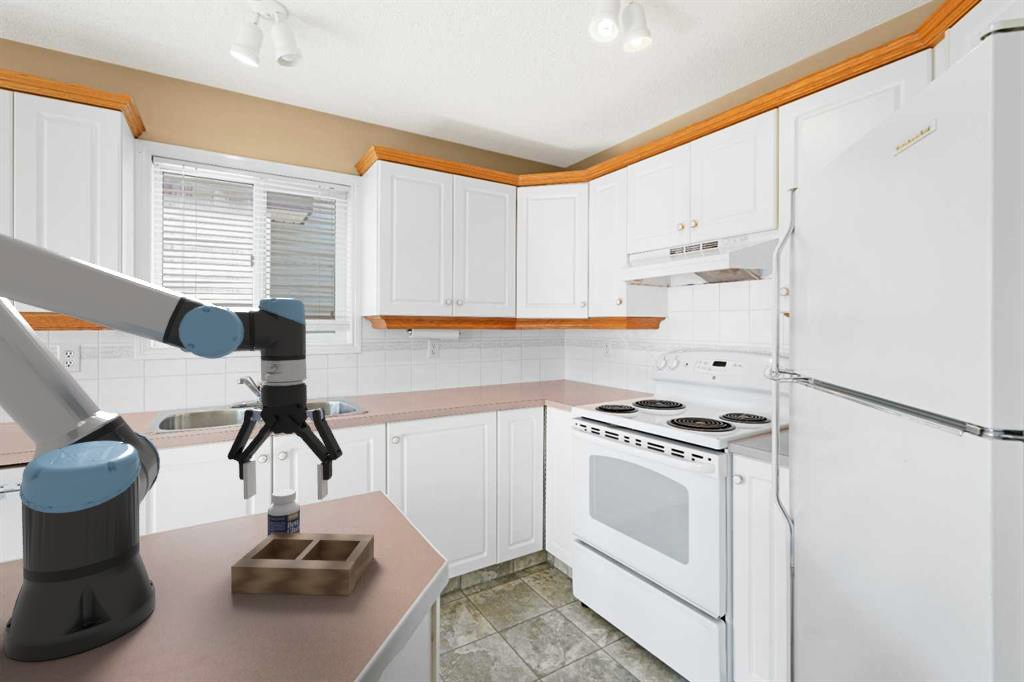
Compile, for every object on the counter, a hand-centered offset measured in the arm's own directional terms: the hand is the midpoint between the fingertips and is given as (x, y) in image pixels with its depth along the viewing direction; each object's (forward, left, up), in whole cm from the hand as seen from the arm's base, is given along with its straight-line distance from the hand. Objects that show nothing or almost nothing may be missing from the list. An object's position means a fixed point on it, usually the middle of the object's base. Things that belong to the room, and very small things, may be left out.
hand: (286, 496), depth 88 cm
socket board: (+9, -10, -9) cm, 16 cm away
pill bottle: (0, 0, -9) cm, 9 cm away
